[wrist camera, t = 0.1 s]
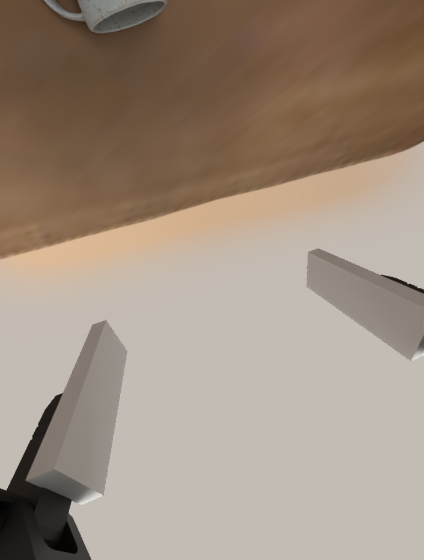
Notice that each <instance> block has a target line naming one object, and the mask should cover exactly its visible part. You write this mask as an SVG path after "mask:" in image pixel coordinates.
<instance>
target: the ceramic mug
mask: <svg viewBox="0 0 424 560" xmlns="http://www.w3.org/2000/svg"><path fill="white" fill-rule="evenodd" d="M44 1H45V2H46V4H47V5H48V6H49V7H51V8H52V9H53V10H54V11H56V12H57V13H58V14H60V15H61V16H63V17H65V18H68V19H71V20H76V21H86V23H87V25H88V27H89V29H90V30H91V31H92V32H94V33H108V32H116V31H118V30H121V29H126V28H129V27H132V26H135V25H138V24H140V23H142V22H144V21H146V20H149V19H151V18H152V17H154V16H156V15H158V14H159V13H160V12H161V11H162V10H163V9H164V8H165V6H166V5H167V0H77V1H78V3H79V6H80V8H81V11H82V12H81V13H71V12H69V11H67V10H65V9H64V8H62V7H61V6H60V5H59V4H58V3H57V2H56V0H44Z"/></svg>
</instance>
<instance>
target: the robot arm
mask: <svg viewBox="0 0 424 560" xmlns="http://www.w3.org/2000/svg"><path fill="white" fill-rule="evenodd" d="M307 287H308V288H309V289H311V290H312V291H314V292H315V293H316V294H318V295H319V296H321V297H322V298H324V299H325V300H326V301H328V302H329V303H330V304H332V305H333V306H335V307H336V308H337V309H339V310H340V311H342V312H343V313H345V314H346V315H347V316H349V317H350V318H351V319H353V320H354V321H356V322H357V323H359V324H360V325H361V326H363V327H364V328H366V329H367V330H368V331H370V332H371V333H373V334H374V335H375V336H377V337H378V338H379V339H381V340H382V341H384V342H385V343H387V344H388V345H389V346H391V347H392V348H394V349H395V350H396V351H398V352H399V353H400V354H402V355H403V356H405V357H406V358H407V359H409V360H410V361H412V360H415V359H417V358H419V357H421V356H424V289H421V288H417V287H416V286H414V285H411V284H407V282H404V281H402V280H399V279H397V278H394V277H389V276H385V275H378V274H376V273H374V272H372V271H369V270H367V269H365V268H362V267H360V266H358V265H355V264H353V263H351V262H348V261H346V260H344V259H342V258H339V257H337V256H335V255H332V254H330V253H327V252H325V251H323V250H320V249H316V250H313V251H310V252H308V266H307ZM126 355H127V350H126V349H125V347H124V346H123V344H122V343H121V341H120V340H119V338H118V337H117V336H116V334H115V333H114V331H113V330H112V328H111V327H110V325H109V324H108V322H107V321H106V320H105V321H102V322H99V323H96V324H93V325H92V327H91V330H90V332H89V334H88V337H87V339H86V342H85V344H84V346H83V348H82V351H81V353H80V355H79V357H78V360H77V362H76V364H75V367H74V369H73V371H72V374H71V376H70V378H69V381H68V383H67V385H66V388H65V390H64V392H63V393H62V394H59V395H56V396H55V397H54V399H53V400H52V401H51V403H50V404H49V405H48V407H47V408H46V409H45V411H44V413H43V415H42V417H41V419H40V421H39V423H38V425H39V426H38V427H37V428H36V430H35V432H34V434H33V436H32V437H33V438H32V440H30V442H29V444H28V447H27V449H26V451H25V453H24V455H23V457H22V459H21V461H20V463H19V465H18V467H17V469H16V472H15V474H14V476H13V478H12V480H11V482H10V484H9V486H8V488H7V490H3V489H0V560H91V558H90V556H89V553H88V551H87V549H86V546H85V544H84V542H83V540H82V537H81V535H80V533H79V531H78V528H77V526H76V524H75V522H74V520H73V517H72V516H71V515H70V514H68V513H69V509H70V505H71V501H74V502H76V503H78V504H81V505H82V504H84V503H87V502H89V501H91V500H94V499H96V498H98V497H101V496H103V495H104V489H105V483H106V477H107V471H108V465H109V458H110V453H111V447H112V440H113V434H114V428H115V422H116V416H117V410H118V404H119V398H120V392H121V385H122V379H123V374H124V367H125V361H126Z"/></svg>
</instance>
